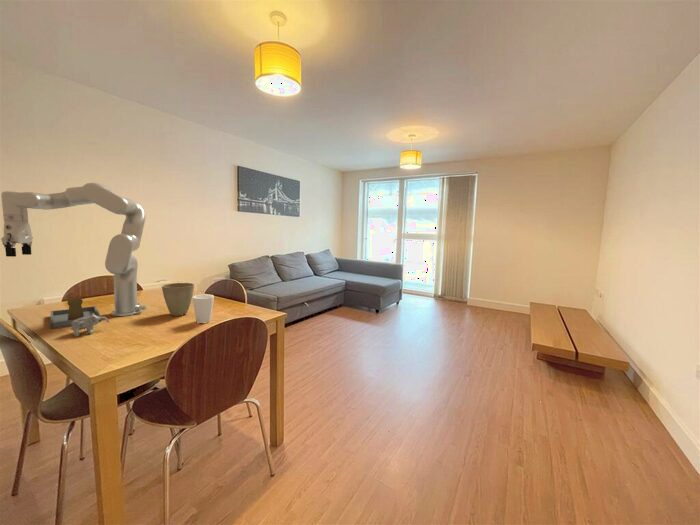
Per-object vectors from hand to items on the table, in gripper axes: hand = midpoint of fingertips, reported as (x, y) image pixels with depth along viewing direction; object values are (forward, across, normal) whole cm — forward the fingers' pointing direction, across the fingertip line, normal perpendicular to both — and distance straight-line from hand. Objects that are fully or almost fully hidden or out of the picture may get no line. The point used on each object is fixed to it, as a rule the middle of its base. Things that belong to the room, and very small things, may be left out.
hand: (19, 255), depth 135 cm
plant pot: (+31, -6, -67) cm, 74 cm away
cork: (+30, -12, -25) cm, 41 cm away
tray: (+30, -7, -23) cm, 38 cm away
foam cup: (+31, -22, -81) cm, 89 cm away
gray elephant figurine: (+31, -28, -37) cm, 56 cm away
